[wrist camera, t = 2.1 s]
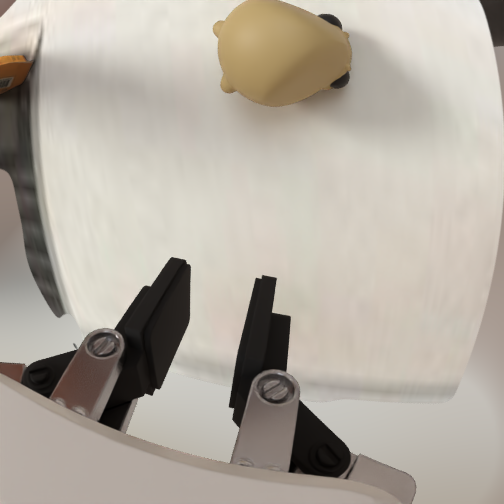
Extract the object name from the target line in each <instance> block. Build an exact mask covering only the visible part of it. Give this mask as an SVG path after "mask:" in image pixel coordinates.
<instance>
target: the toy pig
mask: <svg viewBox="0 0 504 504" xmlns="http://www.w3.org/2000/svg"><path fill="white" fill-rule="evenodd" d="M213 32H214V34H215V35H216V36H217V38H218V56H219V61H220V65H221V68H222V70H223V72H224V74H223V77H222V80H221V84H220V86H221V89H222V90H223V91H224V92H225V93H233V92H235V91H238V92H239V93H240V94H241V95H243V96H244V97H246V98H247V99H249V100H251V101H253V102H256V103H258V104H261V105H265V106H270V107H280V106H286V105H290V104H293V103H296V102H299V101H301V100H304V99H306V98H308V97H310V96H311V95H313V94H315V93H317V92H318V91H320V90H321V89H323V90H329V89H332V88H342V87H344V86H345V85H346V84H347V83H348V81H349V71H350V70H351V67H350V63H351V57H352V51H351V46H350V43H349V41H348V37H349V33H347V32H343V31H342V25H341V22H340V21H339V19H338V18H336V17H335V16H334V15H331V14H321V15H318V16H316V15H314V14H312V13H310V12H308V11H306V10H304V9H301V8H299V7H296V6H294V5H291V4H288V3H285V2H282V1H279V0H247V1H245V2H243V3H242V4H240V5H239V6H238V7H236V8H235V9H234V10H233V11H232V12H231V13H230V14H229V16H228V17H227V18H226V20H225V21H218V22H216V23H215V24H214V26H213Z"/></svg>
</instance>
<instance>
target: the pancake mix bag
mask: <svg viewBox="0 0 504 504" xmlns="http://www.w3.org/2000/svg"><path fill="white" fill-rule="evenodd" d="M33 61H34V60H32V61H26V59H25V57H24V56H2V57H0V94H2V93H4V92H6V91H8V90H10V89H12V88H14V87H16V86H18V85H20V84H22V83H23V81H24V80H25V78H26V77H27V75H28V73H29V71H30V68H31V66H32V63H33Z"/></svg>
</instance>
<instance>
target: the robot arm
mask: <svg viewBox="0 0 504 504" xmlns="http://www.w3.org/2000/svg"><path fill="white" fill-rule="evenodd" d="M190 276H191V266H190V265H189V264H187V262H186V260H184V259H179V258H174V257H171V258H170V259H169V261H168V262H167V264H166V265H165V267H164V268H163V269H162V271H161V272H160V274H159V275H158V277H157V278H156V280H155V281H154V283H153V284H152V285H151V287H150V286H144V287H143V288H142V289H141V291H140V292H139V294H138V295H137V297H136V298H135V299H134V301H133V302H132V304H131V305H130V307H129V308H128V310H127V311H126V313H125V314H124V316H123V317H122V319H121V320H120V321H119V323H118V324H117V326H116V327H115V329H114V330H113V329H108V328H102V329H97V330H94V331H93V332H91V333H89V334H88V335H87V336H86V338H85V339H84V341H83V342H82V344H81V346H80V347H79V349H77V350H74V351H71V352H67V353H64V354H60V355H56V356H53V357H49V358H46V359H42V360H38V361H36V362H33V363H32V364H30V365H29V366H28V367H26V365H25V364H20V363H4V362H0V504H412V501H413V499H414V496H415V493H416V483H415V481H414V479H413V478H412V476H410V475H409V474H407V473H406V472H403V471H400V470H397V469H395V468H392V467H390V466H388V465H385V464H382V463H380V462H378V461H376V460H373V459H371V458H369V457H366V456H364V455H361V454H359V455H358V456H357V455H355V454H353V453H351V452H350V451H349V448H348V447H347V446H346V445H345V443H344V442H343V441H342V440H341V439H339V438H338V437H337V436H336V435H335V434H334V433H333V432H332V431H331V430H330V429H329V428H328V427H327V426H326V425H325V424H324V423H323V422H322V421H320V419H318V418H317V416H315V415H314V414H313V413H312V412H311V411H310V410H309V409H308V408H307V407H306V406H305V405H304V404H303V403H302V402H301V401H300V400H299V397H300V387H299V384H298V382H297V381H296V379H295V378H294V377H293V376H292V375H290V374H288V373H287V372H286V370H287V359H288V347H289V334H290V321H291V317H290V316H287V315H282V314H276V313H272V308H273V301H274V294H275V287H276V280H277V278H275V277H269V276H264V275H262V279H259V278H256V279H255V284H254V288H253V292H252V296H251V300H250V304H249V308H248V312H247V317H246V321H245V325H244V329H243V333H242V337H241V341H240V345H239V349H238V354H237V359H236V365H235V371H234V377H233V384H232V391H231V397H230V403H229V407H230V408H234V413H233V419H232V420H233V421H234V422H235V423H236V425H237V426H238V427H239V428H240V429H239V432H238V436H237V440H236V443H235V447H234V450H233V454H232V457H231V461H230V463H226V462H221V461H217V460H212V459H208V458H203V457H200V456H196V455H192V454H188V453H184V452H181V451H177V450H173V449H170V448H167V447H163V446H160V445H157V444H154V443H151V442H148V441H145V440H142V439H139V438H136V437H133V436H131V435H128V434H125V433H126V431H127V428H128V425H129V423H130V420H131V417H132V415H133V412H134V409H135V407H136V404H137V401H138V398H139V397H142V396H144V394H148V395H153V393H154V391H155V389H160V388H161V386H162V384H163V381H164V379H165V377H166V374H167V372H168V370H169V368H170V365H171V363H172V361H173V358H174V356H175V354H176V351H177V349H178V347H179V345H180V342H181V340H182V338H183V335H184V333H185V331H186V329H187V326H188V324H189V320H190Z"/></svg>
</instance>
